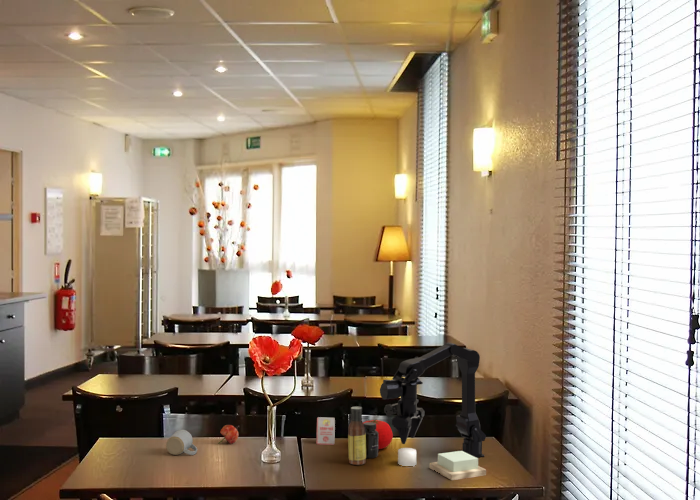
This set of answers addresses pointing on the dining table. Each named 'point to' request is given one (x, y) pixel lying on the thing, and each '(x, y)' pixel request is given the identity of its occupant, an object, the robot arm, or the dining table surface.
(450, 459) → the sage top block
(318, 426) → the white red carton
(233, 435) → the red mushroom
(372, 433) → the supplement bottle
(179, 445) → the ceramic mug
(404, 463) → the white cylinder
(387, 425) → the tomato
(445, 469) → the birch base slab
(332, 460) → the dining table surface
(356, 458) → the sauce bottle
